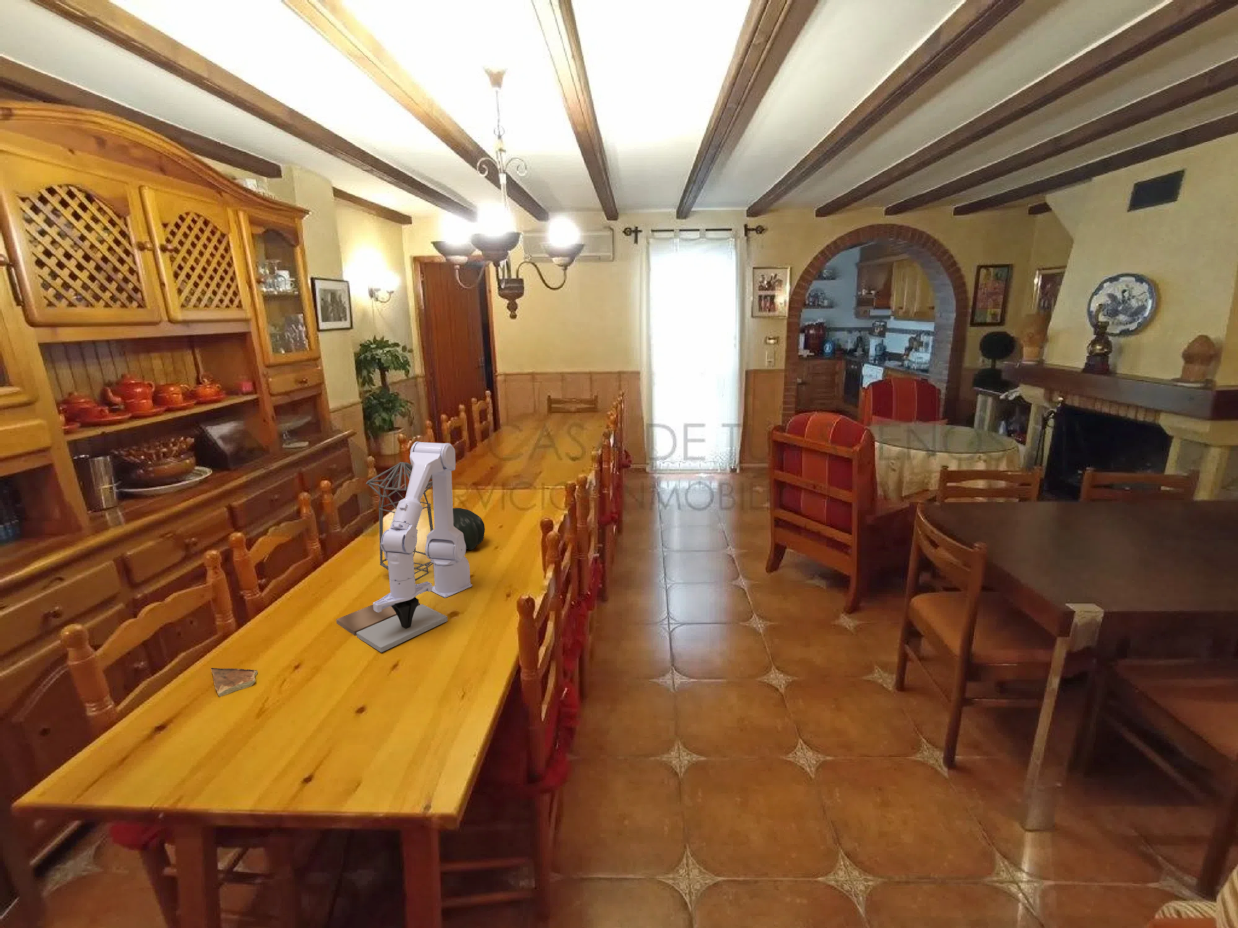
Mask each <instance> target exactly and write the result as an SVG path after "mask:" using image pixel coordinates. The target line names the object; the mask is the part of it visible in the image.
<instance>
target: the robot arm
mask: <svg viewBox="0 0 1238 928" xmlns="http://www.w3.org/2000/svg"><path fill="white" fill-rule="evenodd" d="M409 452H410V453H409V460H410V464H411V465H412V467H413V468H412V471H411V476H410V480H409V479H408V480H409V481H408V484H407V487H408V489H407V491H406V494H405V497H403V498H404V499H403V498H402V499H400V500H398V501H399V502H398V504H397V506H396V507H397V509H395V511H394V512H395V513H394V515H393V518H392V521H391V524H390V527H389V528H388V529H386V530H385V531H383V535H382V538H381V544H380V543H379V547H380V546H381V549H382V551H383V555H384V558H385V559H387V566H388V570H387V571H388V579H389V589H390V590H389V591H390V592H388V593H387V594H386V595H384V596H383V597H381V598H380V599H378V600H376V601H374V602H372V605H373V609H374V611H376V612H381V611H382V609H385V608H387V607H389V606H391V607H392V608H393V609H394V611H395V612H396V614H397V616H398V618H399V620H400V623H401V626H402V627H403V628H405V629H407V628H409V627H411V623H412V618H413V615H414V612H415V609H416V607H417V606H418V604H419V603H420V599H419V598H417V596H419V595H421V594H423V593H425V592H428V593H429V592H432V593H434V594H437V595H439V596H440V597H442V598H444V599H446V598H448V597H451V596H453V595H455V594H457V593H459V592H462V591H464V590H466V589H469V588H471V587H473V584H472V583H471V573H470V572H471V571H470V568H471V567H470V563H469V560H468V559H467V558H466V556H465V555H466V551H467V548H466V544H465V541H464V536H463V533H462V532H461V531H459V530H458V529H457V528H455V527H454V526H453V508H454V507H453V505H454V504H453V477H452V475H453V474H452V471H455V470H456V448H454V446H453V444H451V443H450V442H445V443H443V442H426V441H425V442H422V441H415V442H414V443H413V444H412V445H411V448H410V450H409ZM431 475H432V479H430V477H431ZM430 480H431V481H433V486H432V499H433V521H434V523H433V530H432V531H431V532H428V533H427V535H426V542H425V547H424V550H425V551H424V553H426V555H425V556H426V557H427V559H429V560H430V561H431V562H432V563H433V564H432V567H433V581H434V585H433V584H432V583H431V582H430V581H424V582H421V583H416V580H415V579H416V574H414V573H415V570H414V567H415V564H414V562H415V561H414V556H413V553H414V552H413V551H414V549H415V547H416V546H417V544H418V525H419V524H418V523H419V521H420V518H421V515H422V511H423V510H424V509H423V507H424V506H423V505H422V503H420V502H421V499H422V497H423V496H424V494H423V493H424V491H425V490H426V489H427V488H426V486H427V484H428V482H430ZM425 488H426V489H425Z"/></svg>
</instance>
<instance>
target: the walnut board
mask: <svg viewBox="0 0 1238 928" xmlns="http://www.w3.org/2000/svg"><path fill="white" fill-rule="evenodd" d="M419 605H421V603H420V602H419V604H418V606H419ZM396 615H397V614H396V612H395V611H394V609H393V608H392V607H391V606H389V607H387V608H385V609H382V611H381V612H376V611H374V609H373V604H371V605H369V606H366V607H363V608H360V609H358V610H357V611H354V612H351V613H349V614H346V615H344V616H341V617H339V618H337V619H335V621H336V622H335V623H336V624H337V625H338V626H340V627H341V628H343V629H344V630H346V631H347V632H348V633H350V634H351V635H353V636H356V637H357V634H356V632H359V631H361V630H363V629H366V628H368V627H370V626H373V625H375V624H377V623H380V622H382V621H384V620H387V619H389V618H391V617H393V616H396Z"/></svg>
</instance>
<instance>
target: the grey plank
mask: <svg viewBox="0 0 1238 928" xmlns="http://www.w3.org/2000/svg"><path fill="white" fill-rule="evenodd" d="M446 622H448V616H447V615H445V614H443V613H441V612H439V611H437V610H435V609H433V608H431V607H429V606H427V605H424V604H423V603H422V604H421V603H420V605H419V606H417V607H416V609H415V612H414V615H413V618H412V623H411V627H409V628H407V629H405V628H403V627H402V626H401V623H400V620H399V618H398V616H397V615H396V616H393V617H391V618H389V619H387V620H384V621H382V622H380V623H377V624H375V625H373V626H370V627H368V628H366V629H363V630H361V631H359V632H356V634H357V635H356V638H357V639H359V640H361V641H362V642H365V644H367V645H368V646H370V647H372V648H374V649H375V650H377V651H378V652H379V653H383V652H385V651H387V650H389V649H392V648H393V647H396V646H398V645H400V644H402V643H404V642H407V641H408V640H410V639H412V638H414V637H417V636H419V635H421V634H423V633H425V632H427V631H429V630H431V629H433V628H436V627H438V626H439V625H443V624H444V623H446Z"/></svg>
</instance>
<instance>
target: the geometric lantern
mask: <svg viewBox="0 0 1238 928" xmlns="http://www.w3.org/2000/svg"><path fill="white" fill-rule="evenodd" d="M412 468H413V467H412V465H411V463H409V462H407V461H406V462H404V461H399V462H398V463H397V464H394V465H393V466H392V467H389V469H387V470H385V471H382V472H381V473H379V474H378V475H376V476H374V477H372V478H370V479H368V480H367V481H366V483H365V485H368V486H369V487H370V488H371V489H372V490H373V491H374V492H375V493H376V494H377V495H379V500H378V501H379V503H378V525H379V526H378V528H379V529H378V530H379V531H378V532H379V565H380V566H381V567H383V568H384V569H386V570H387V571H389V570H388V564H385V562H386V561H387V562H388V560H387V559H386V558H385V559H383V557H384V556H383V555H384V552H383V551H382V549H381V546H380V544H381V538H382V535H383V533H384V511H385V512H389V513H393V514H395V512H396V511H393V510H389V509H384V507H385V508H386V507H388V506H393V507H394V509H395V510H396V509H397V506H396V505H395V504H397V503H399V501H400V500H398V501H395V502H393V500H392V499H391V496H392V495H393V494H395V493H397V494H398V495H399V496H400V497H401V498H402V499H404V498H405V497H403V496H402V495H401V494H400V493H399V491H406V492H407V489H408V486H407V479H406V477H407V478H408V480H410V476H411V472H412ZM388 472H390V473H388ZM398 472H399V473H398ZM387 473H388V474H387ZM384 474H385V475H386V474H387V476H386V477H385V478H384V479H378V478H380V477H381V476H383V475H384ZM403 475H404V488H401V483H402V476H403ZM396 478H397V480H396V481H395V479H396ZM429 480H430V481H428V484H427V486H426V488H425V491H424V493H423V497H424V499H425V502H424V501H420V503H421V504H425V505H427V506H422V507H423V509H422V510H424V509H426V510H427V516H428V523H429V530H430V532H431V531H432V530H433V529H434V523H433V517H432V508H431V507H432V506H431V505H432V503H429V501H428V498H427V497H428V496H427V491H428V490H429V489H431V488H433V481H432V475H431V477H430V479H429ZM386 481H388V482H387V483H386ZM391 482H392V485H391V486H390V484H391ZM394 482H395V483H394ZM379 483H380V484H379ZM374 486H376V487H377V489H376V488H375V487H374ZM396 486H397V487H396ZM381 489H383V493H381ZM387 490H389V491H391V490H392V492H391V493H389V494H387ZM385 498H387V500H389V502H390V503H387V504H384V501H385ZM415 553H416V554H419V555H423V556H424V555H425V556H426V553H425V552H423V551H418V550H417V549H416V547H415V549H414V551H413V557H414V556H415ZM414 565H418V566H416V567H415V566H414V574H415V575H416V574H418V573H420V572H425V573H424V574H422V575H420V576H418V577H415V581H417V580H419V579H420V578H422V577H425V576H427V575H429V573H430V572H429V568H430V567H431V566H433V563H432V562H431V560H430V561H428V562H426V563H419V562H415V561H414ZM424 566H425V567H424ZM423 567H424V568H423ZM415 570H417V571H415Z"/></svg>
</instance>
